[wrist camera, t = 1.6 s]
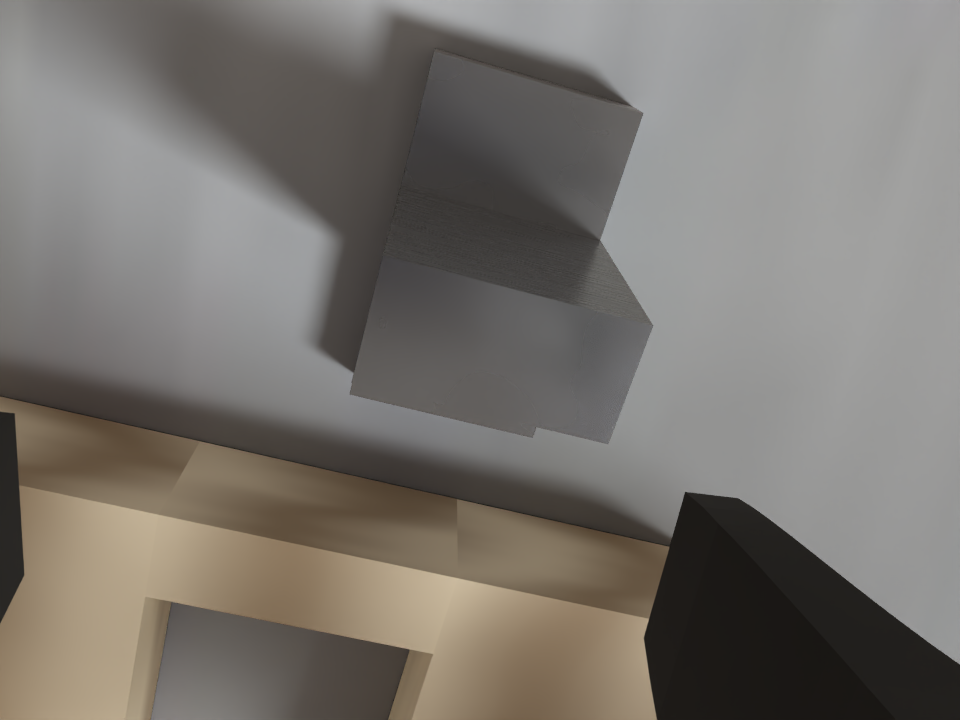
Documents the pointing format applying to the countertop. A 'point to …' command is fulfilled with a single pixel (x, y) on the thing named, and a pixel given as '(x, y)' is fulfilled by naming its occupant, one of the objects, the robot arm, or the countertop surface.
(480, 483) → the countertop surface
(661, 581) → the robot arm
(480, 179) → the t bracket
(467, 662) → the well block
